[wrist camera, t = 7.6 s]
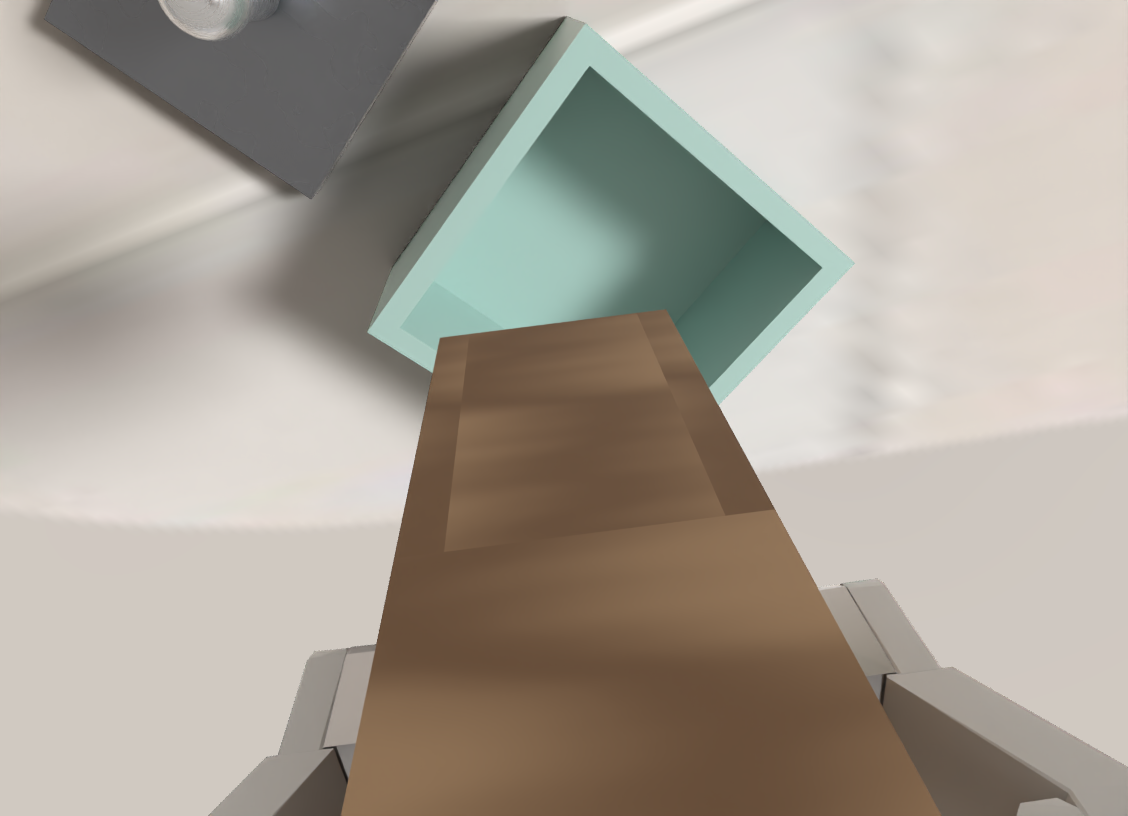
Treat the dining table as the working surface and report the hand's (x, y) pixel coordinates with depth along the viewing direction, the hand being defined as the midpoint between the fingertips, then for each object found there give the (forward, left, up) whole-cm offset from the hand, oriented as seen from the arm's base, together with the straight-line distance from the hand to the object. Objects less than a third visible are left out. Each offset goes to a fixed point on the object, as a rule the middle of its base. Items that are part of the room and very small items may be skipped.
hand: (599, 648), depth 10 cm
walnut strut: (0, 0, -7) cm, 7 cm away
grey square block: (-12, +1, -24) cm, 27 cm away
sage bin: (+3, +1, -24) cm, 24 cm away
